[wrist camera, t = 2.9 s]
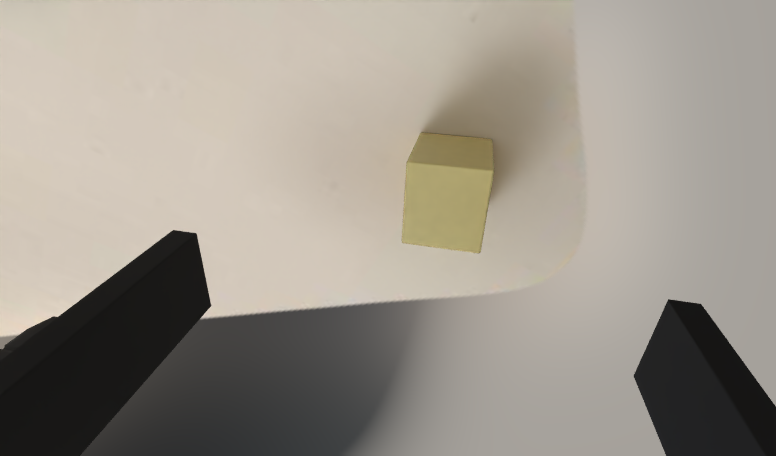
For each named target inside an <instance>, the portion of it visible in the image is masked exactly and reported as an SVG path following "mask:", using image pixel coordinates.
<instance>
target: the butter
mask: <svg viewBox="0 0 776 456" xmlns="http://www.w3.org/2000/svg"><path fill="white" fill-rule="evenodd" d="M493 176H494V161H493V145H492V139H485V138H474V137H463V136H453V135H442V134H431V133H420V135H419V137H418V139H417V142H416V144H415V146H414V148H413V150H412V152H411V154H410V156H409V159H408V161H407V165H406V181H405V196H404V212H403V228H402V243H406V244H413V245H421V246H428V247H435V248H443V249H450V250H458V251H465V252H473V253H480V252H481V246H482V240H483V235H484V229H485V223H486V217H487V211H488V205H489V199H490V193H491V187H492V181H493Z"/></svg>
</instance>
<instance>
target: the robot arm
mask: <svg viewBox="0 0 776 456" xmlns="http://www.w3.org/2000/svg"><path fill="white" fill-rule="evenodd" d="M210 307H211V303H210V298H209V293H208V288H207V283H206V278H205V273H204V268H203V263H202V258H201V253H200V248H199V244H198V239H197V234H196V233H190V232H183V231H176V230H173V231H171V232H170V233H169V234H167V235H166V236H165V237H163V238H162V239H161V240H159V241H158V242H157V243H156V244H154V245H153V246H152V247H150V248H149V249H148V250H146V251H145V252H144V253H142V254H141V255H140V256H138V257H137V258H136V259H134V260H133V261H132V262H130V263H129V264H128V265H126V266H125V267H124V268H122V269H121V270H120V271H118V272H117V273H116V274H114V275H113V276H112V277H110V278H109V279H108V280H106V281H105V282H104V283H102V284H101V285H100V286H98V287H97V288H96V289H94V290H93V291H92V292H91V293H89V294H88V295H87V296H85V297H84V298H83V299H81V300H80V301H79V302H77V303H76V304H75V305H73V306H72V307H71V308H69V309H68V310H67V311H65V312H64V313H63V314H61V315H60V316H59V317H51V318H49V319H47V320H45V321H43V322H41V323H39V324H37V325H35V326H33V327H31V328H29V329H27V330H25V331H24V332H23V333H21V334H20V335H18V336H17V337H16V338H15V339H13V340H12V341H10V342H9V343H8V344H6V345H5V347H4V349H0V456H80V455H81V454H82V452H83V451H84V450H85V449H86V448H87V447H88V446H89V445H90V443H91V442H92V441H93V440H94V439H95V438H96V437H97V436H98V434H99V433H100V432H101V431H102V430H103V429H104V428H105V426H106V425H107V424H108V423H109V422H110V420H112V418H113V417H114V416H115V415H116V414H117V413H118V412H119V410H120V409H121V408H122V407H123V406H124V405H125V403H126V402H127V401H128V400H129V399H130V398H131V397H132V396H133V394H134V393H135V392H136V391H137V390H138V389H139V388H140V386H141V385H142V384H143V383H144V382H145V381H146V380H147V378H148V377H149V376H150V375H151V374H152V373H153V371H154V370H155V369H156V368H157V367H158V366H159V365H160V364H161V362H162V361H163V360H164V359H165V358H166V357H167V356H168V354H169V353H170V352H171V351H172V350H173V349H174V348H175V346H176V345H177V344H178V343H179V342H180V341H181V340H182V338H183V337H184V336H185V335H186V334H187V333H188V331H189V330H190V329H191V328H192V327H193V326H194V325H195V324H196V322H197V321H198V320H199V319H200V318H201V317H202V316H203V315H204V313H205V312H206V311H207V310H208V309H209V308H210ZM634 378H635V380H636V383H637V385H638V388H639V390H640V393H641V395H642V397H643V400H644V402H645V405H646V407H647V410H648V412H649V415H650V417H651V419H652V422H653V424H654V427H655V429H656V432H657V434H658V437H659V439H660V441H661V444H662V446H663V449H664V451H665V454H666V456H776V406H775V405H774V404H773V402H772V401H771V399H770V398H769V397H768V395H767V394H766V393H765V391H764V390H763V389H762V387H761V386H760V384H759V383H758V382H757V381H756V379H755V378H754V376H753V375H752V374H751V372H750V371H749V369H748V368H747V366H746V365H745V364H744V362H743V361H742V360H741V358H740V357H739V356H738V354H737V353H736V351H735V350H734V349H733V347H732V346H731V344H729V342H728V340H727V339H726V338H725V336H724V335H723V334H722V332H721V331H720V330H719V328H718V327H717V325H716V324H715V323H714V321H713V320H712V318H711V317H710V316H709V314H708V313H707V311H706V310H705V309H704V307H703V306H702V305H701V304H697V303H690V302H683V301H676V300H668V302H667V304H666V306H665V308H664V311H663V312H662V315H661V317H660V319H659V321H658V323H657V326H656V328H655V330H654V332H653V335H652V337H651V339H650V341H649V343H648V345H647V348H646V350H645V352H644V354H643V356H642V359H641V361H640V363H639V365H638V367H637V370H636V372H635V374H634Z"/></svg>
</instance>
